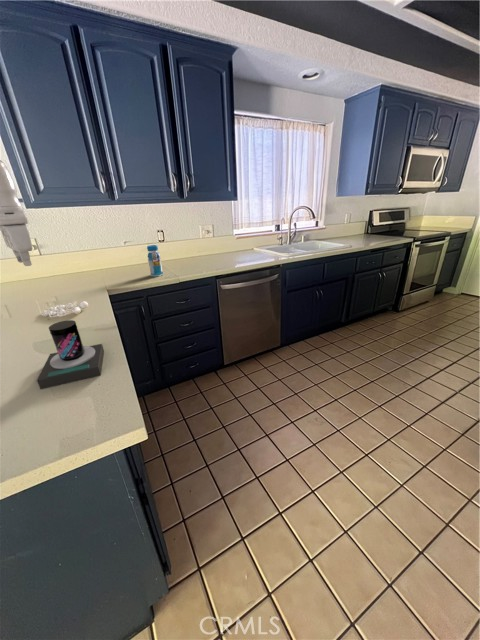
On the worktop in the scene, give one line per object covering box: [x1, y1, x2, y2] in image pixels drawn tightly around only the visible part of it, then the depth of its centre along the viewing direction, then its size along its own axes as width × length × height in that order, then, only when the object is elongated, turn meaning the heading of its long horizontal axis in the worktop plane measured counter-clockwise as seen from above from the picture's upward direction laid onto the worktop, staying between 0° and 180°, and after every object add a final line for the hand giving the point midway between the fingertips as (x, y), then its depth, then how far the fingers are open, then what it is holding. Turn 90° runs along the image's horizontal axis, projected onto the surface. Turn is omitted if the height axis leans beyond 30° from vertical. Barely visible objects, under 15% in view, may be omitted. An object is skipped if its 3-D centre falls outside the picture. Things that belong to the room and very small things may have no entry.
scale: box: [36, 343, 105, 390], centre depth 80 cm, size 15×15×4 cm
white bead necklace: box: [41, 300, 89, 318], centre depth 123 cm, size 19×14×4 cm
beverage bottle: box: [146, 244, 164, 277], centre depth 180 cm, size 8×8×20 cm
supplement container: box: [48, 319, 85, 361], centre depth 78 cm, size 7×7×10 cm
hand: (24, 263), depth 84 cm, fingers open, 8 cm apart
